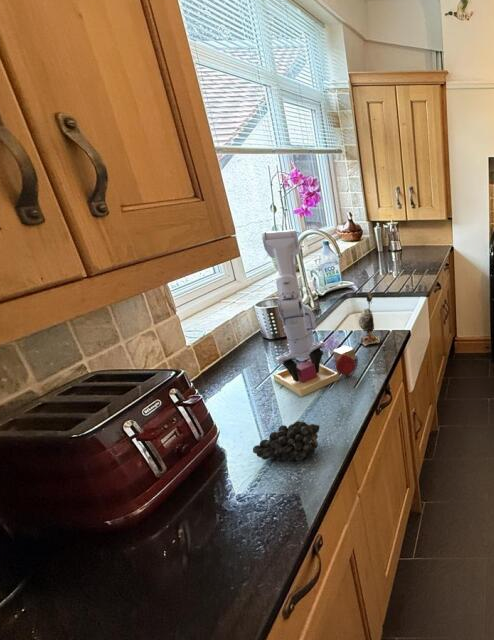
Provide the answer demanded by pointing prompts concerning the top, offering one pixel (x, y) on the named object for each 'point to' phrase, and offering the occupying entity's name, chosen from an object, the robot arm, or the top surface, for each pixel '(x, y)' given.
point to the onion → (345, 365)
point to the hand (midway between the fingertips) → (306, 376)
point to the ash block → (345, 350)
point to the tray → (322, 379)
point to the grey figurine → (368, 324)
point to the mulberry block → (306, 371)
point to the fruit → (289, 442)
